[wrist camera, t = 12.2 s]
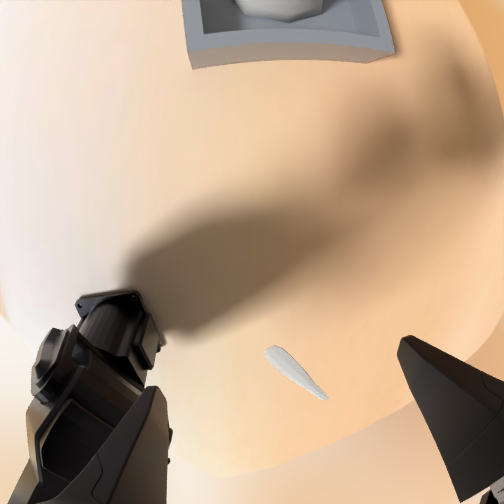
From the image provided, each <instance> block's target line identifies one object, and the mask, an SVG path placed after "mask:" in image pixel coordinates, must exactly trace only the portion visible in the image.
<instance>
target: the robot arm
mask: <svg viewBox="0 0 504 504" xmlns="http://www.w3.org/2000/svg"><path fill="white" fill-rule="evenodd" d="M132 296H136V297H137V298H133V297H132ZM80 304H81V305H82V306H81V305H80ZM75 307H76V309H77V311H78V313H79V315H80V317H81V321H80V322H79V324H78V326H77V327H76V326H75V325H74V324H73V325H72V326H70V327H69V328H68V329H66V330H64V331H63V330H59V329H56V328H52V329H51V330H50V331H49V332H48V334H47V335H46V337H45V339H44V340H43V342H42V344H41V345H40V348H39V350H38V354H37V358H36V362H35V363H34V365H33V367H32V374H31V375H32V376H31V394H32V395H33V396H34V399H33V401H32V402H31V404H30V406H29V407H28V409H27V412H26V425H27V437H28V446H29V454H30V459H29V461H28V463H27V465H26V467H25V469H24V471H23V473H22V475H21V477H20V479H19V481H18V483H17V485H16V487H15V489H14V491H13V493H12V495H11V498H10V500H9V502H8V504H166V495H167V493H166V492H167V465H168V464H169V463H170V458H168V449H169V446H170V443H171V440H172V434H173V431H172V429H171V428H170V427H169V421H168V414H167V401H166V398H165V397H164V395H163V393H162V392H161V390H160V388H159V387H158V386H148V387H146V388H144V387H145V381H146V376H147V371H148V370H152V368H153V367H154V361H155V356H156V353H158V352H160V350H161V344H160V342H159V334H158V332H157V329H156V327H155V324H154V322H153V319H152V317H151V314H149V313H148V312H147V311H146V308H145V306H144V303H143V300H142V298H141V295H140V293H139V292H138V291H135V290H132V291H126V292H120V293H114V294H107V295H101V296H94V297H88V298H81V299H78V300H77V301H76V303H75ZM397 357H398V360H399V363H400V365H401V368H402V370H403V373H404V375H405V378H406V381H407V383H408V386H409V388H410V390H411V392H412V394H413V396H414V398H415V400H416V402H417V404H418V406H419V408H420V410H421V412H422V414H423V416H424V419H425V420H426V423H427V425H428V427H429V429H430V431H431V433H432V435H433V438H434V440H435V442H436V444H437V447H438V449H439V451H440V454H441V456H442V458H443V461H444V463H445V465H446V468H447V471H448V473H449V475H450V478H451V480H452V483H453V486H454V488H455V491H456V493H457V496H458V499H459V501H460V503H461V502H463V501H465V500H466V499H469V498H470V497H472V496H474V495H476V494H477V493H479V492H481V491H482V490H484V489H485V488H487V487H489V486H490V488H491V489H490V490H489V491H487V492H486V493H485V494H484V495H483V496H482V498H481V501H480V504H504V381H501V380H499V379H497V378H495V377H493V376H491V375H489V374H486V373H484V372H483V371H480V370H478V369H477V368H475V367H472V366H471V365H469V364H467V363H465V362H463V361H461V360H459V359H457V358H455V357H453V356H451V355H449V354H448V353H446V352H444V351H442V350H440V349H438V348H436V347H434V346H432V345H430V344H428V343H426V342H424V341H422V340H420V339H418V338H416V337H415V336H412V335H408V336H405V337H403V338H402V339H401V340H400V344H399V348H398V351H397Z"/></svg>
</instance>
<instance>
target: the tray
mask: <svg viewBox="0 0 504 504" xmlns="http://www.w3.org/2000/svg"><path fill="white" fill-rule="evenodd" d="M182 10H183V19H184V28H185V36H186V44H187V52H188V56H189V59H190V63H191V66H192V70H193V69H198V68H204V67H210V66H217V65H225V64H233V63H242V62H253V61H268V60H332V61H347V62H358V63H369V62H372V61H374V60H377V59H380V58H383V57H385V56H388V55H391V54H394V53H395V49H394V45H393V40H392V36H391V32H390V28H389V24H388V21H387V17H386V14H385V10H384V7H383V4H382V1H381V0H323V3H322V11H321V14H318V15H314V16H310V17H306V18H302V19H299V20H295V21H292V22H288V23H285V22H281V21H276V20H271V19H266V18H261V17H255V16H249V15H245V14H244V13H243V12H242V10H241V9H240V8H239V6H238V5H237V3H236V2H235V1H234V0H182Z"/></svg>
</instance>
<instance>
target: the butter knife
mask: <svg viewBox="0 0 504 504" xmlns="http://www.w3.org/2000/svg"><path fill="white" fill-rule="evenodd" d="M265 356H266V359H267V360H268V361H269V362H270V363H271V364H272V365H273V366H274V367H275V368H276V369H278V370H279V371H280V372H281V373H283V374H284V375H285V376H286V377H288V378H289V379H290V380H292V381H293V382H295V383H297V384H298V385H300V386H301V387H303V388H305V389H306V390H308V391H309V392H311V393H312V394H314V395H315V396H317V397H318V398H319V399H321V400H323V401H324V400H326V399H328V398H329V397H328V396H327V395H326V394H325V393H324V392H323V391H322V390H321V389H320V388H319V387H318V386H317V385H316V384H315V383H314V382H313V380H312V379H311V378H310V377H309V375H308V374H307V373H306V371H305V370H304V369H303V368H302V367H301V366H300V365H299V364H298V363H297V362H296V361H295V360H294V358H293V357H292V356H290V355H289V354H288V353H287V352H286V351H285V350H284V349H283V348H280V347H278V346H272V347H270V348H268V349H267V350H265Z"/></svg>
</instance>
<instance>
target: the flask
mask: <svg viewBox="0 0 504 504" xmlns="http://www.w3.org/2000/svg"><path fill="white" fill-rule="evenodd" d="M234 1H235V2H236V3H237V5H238V6H239V8H240V9H241V10H242V12H243V13H244V14H245V15H249V16H255V17H261V18H266V19H271V20H276V21H281V22H285V23H288V22H292V21H295V20H299V19H302V18H306V17H310V16H314V15H318V14H321V11H322V3H323V0H234Z"/></svg>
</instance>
